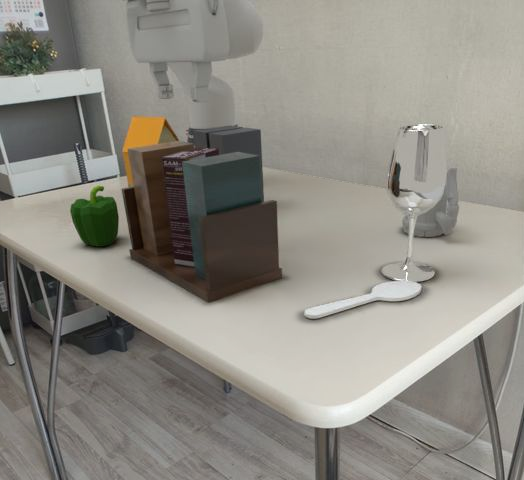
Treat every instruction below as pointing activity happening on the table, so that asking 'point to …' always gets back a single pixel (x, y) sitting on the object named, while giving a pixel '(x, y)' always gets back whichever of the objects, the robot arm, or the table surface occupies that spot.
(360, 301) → the spoon
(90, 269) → the table surface
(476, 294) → the table surface
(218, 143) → the grey books
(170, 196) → the supplement box
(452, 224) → the grey curved piece
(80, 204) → the bell pepper
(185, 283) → the book rack
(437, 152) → the wineglass
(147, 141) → the orange juice
